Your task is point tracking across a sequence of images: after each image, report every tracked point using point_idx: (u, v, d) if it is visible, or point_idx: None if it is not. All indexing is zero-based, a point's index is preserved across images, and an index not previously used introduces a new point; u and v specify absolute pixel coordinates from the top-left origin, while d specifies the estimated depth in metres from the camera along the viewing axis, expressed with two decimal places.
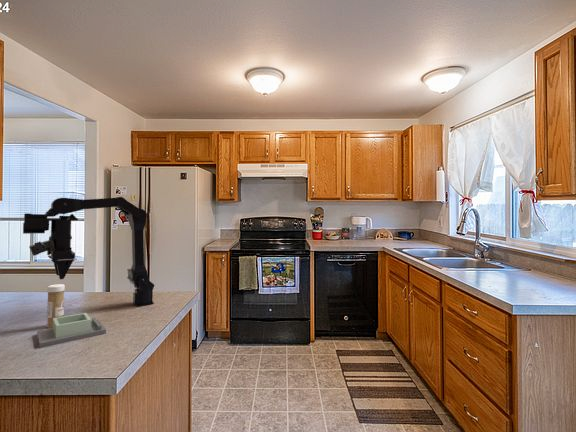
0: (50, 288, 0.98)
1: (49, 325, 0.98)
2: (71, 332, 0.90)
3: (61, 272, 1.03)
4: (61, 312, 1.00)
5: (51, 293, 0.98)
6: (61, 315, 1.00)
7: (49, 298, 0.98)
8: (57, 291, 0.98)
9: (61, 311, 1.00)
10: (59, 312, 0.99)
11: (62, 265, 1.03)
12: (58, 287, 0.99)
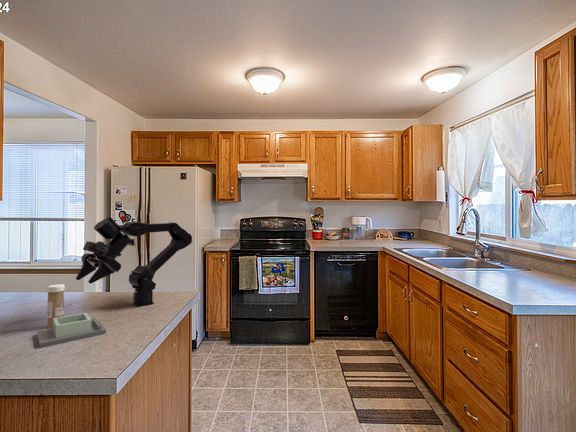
0: (50, 288, 0.98)
1: (49, 325, 0.98)
2: (71, 332, 0.90)
3: (95, 277, 1.05)
4: (61, 312, 1.00)
5: (51, 293, 0.98)
6: (61, 315, 1.00)
7: (49, 298, 0.98)
8: (57, 291, 0.98)
9: (61, 311, 1.00)
10: (59, 312, 0.99)
11: (101, 271, 1.07)
12: (58, 287, 0.99)
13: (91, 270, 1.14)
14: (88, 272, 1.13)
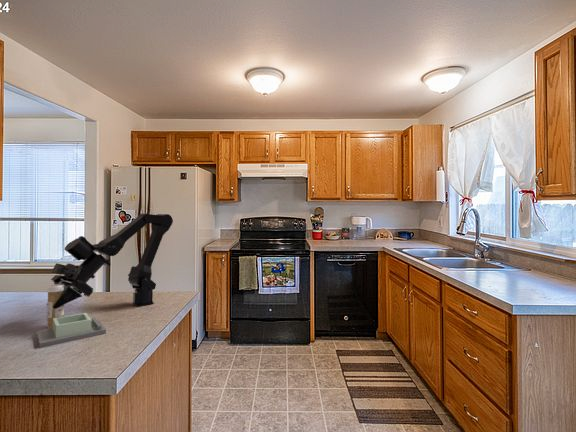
0: (50, 288, 0.98)
1: (49, 325, 0.98)
2: (71, 332, 0.90)
3: (61, 301, 0.98)
4: (61, 312, 1.00)
5: (51, 293, 0.98)
6: (61, 315, 1.00)
7: (49, 298, 0.98)
8: (57, 291, 0.98)
9: (61, 311, 1.00)
10: (59, 312, 0.99)
11: (67, 295, 1.00)
12: (58, 287, 0.99)
13: None
14: None
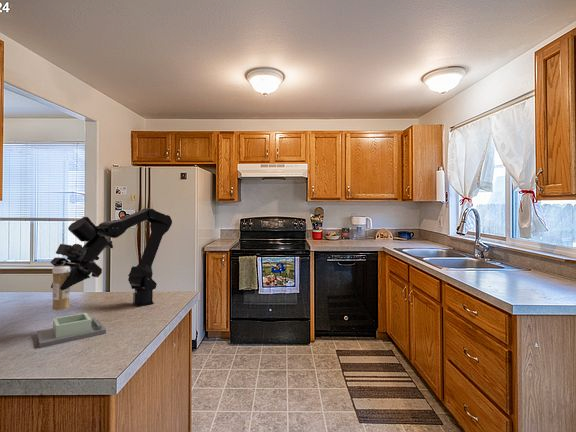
0: (56, 269, 0.94)
1: (56, 307, 0.94)
2: (71, 332, 0.90)
3: (68, 282, 0.95)
4: (68, 294, 0.97)
5: (58, 274, 0.94)
6: (68, 297, 0.97)
7: (55, 280, 0.94)
8: (64, 272, 0.95)
9: (68, 293, 0.97)
10: (66, 293, 0.96)
11: (75, 276, 0.97)
12: (65, 268, 0.95)
13: None
14: None
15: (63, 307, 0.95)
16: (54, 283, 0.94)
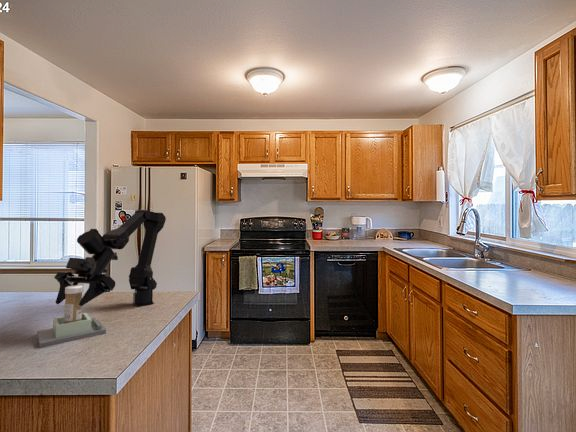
0: (71, 289, 0.91)
1: None
2: (71, 332, 0.90)
3: (87, 298, 0.92)
4: (81, 314, 0.94)
5: (72, 295, 0.92)
6: (80, 318, 0.94)
7: (69, 300, 0.91)
8: (78, 292, 0.93)
9: (81, 313, 0.94)
10: (80, 314, 0.93)
11: (93, 291, 0.94)
12: (79, 288, 0.93)
13: None
14: None
15: None
16: (68, 304, 0.91)
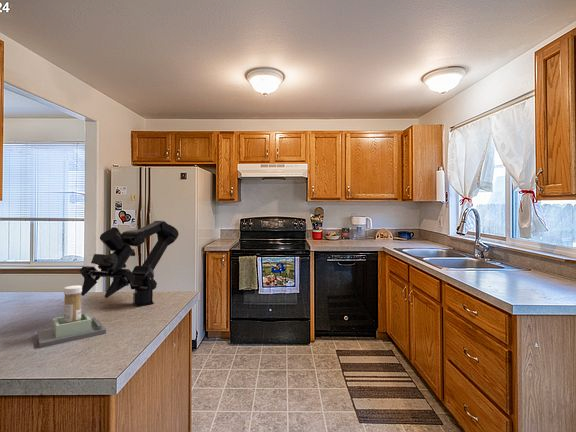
0: (70, 290, 0.91)
1: None
2: (71, 332, 0.90)
3: (111, 290, 1.02)
4: (80, 315, 0.94)
5: (71, 295, 0.91)
6: (80, 318, 0.94)
7: (68, 301, 0.91)
8: (77, 292, 0.92)
9: (80, 313, 0.94)
10: (79, 314, 0.93)
11: (116, 284, 1.03)
12: (78, 288, 0.93)
13: (93, 284, 1.07)
14: (91, 286, 1.06)
15: None
16: (67, 304, 0.91)
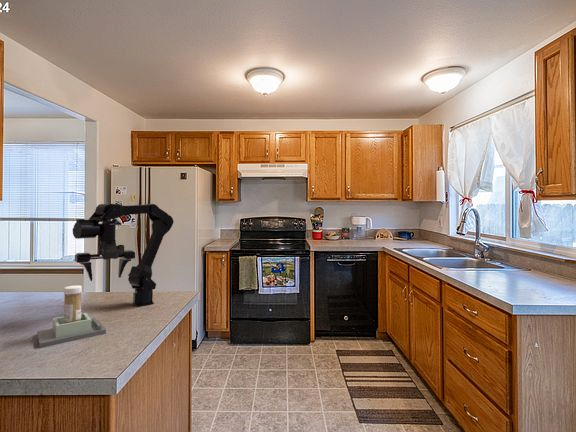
0: (70, 290, 0.91)
1: None
2: (71, 332, 0.90)
3: None
4: (80, 315, 0.94)
5: (71, 295, 0.91)
6: (80, 318, 0.94)
7: (68, 301, 0.91)
8: (77, 292, 0.93)
9: (80, 313, 0.94)
10: (79, 314, 0.93)
11: None
12: (78, 288, 0.93)
13: None
14: None
15: None
16: (67, 304, 0.91)
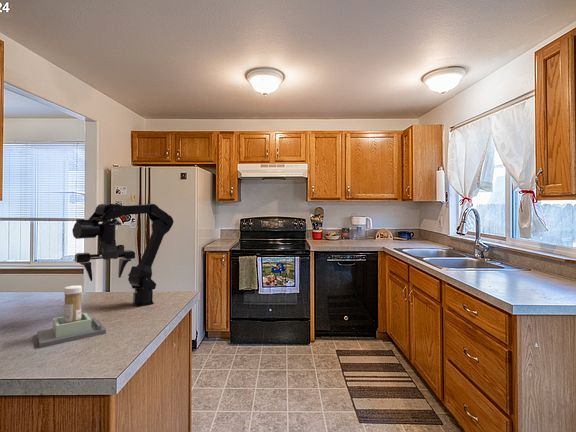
0: (70, 290, 0.91)
1: None
2: (71, 332, 0.90)
3: None
4: (80, 315, 0.94)
5: (72, 295, 0.91)
6: (80, 318, 0.94)
7: (68, 300, 0.91)
8: (77, 292, 0.93)
9: (80, 313, 0.94)
10: (79, 314, 0.93)
11: None
12: (78, 288, 0.93)
13: None
14: None
15: None
16: (67, 304, 0.91)
